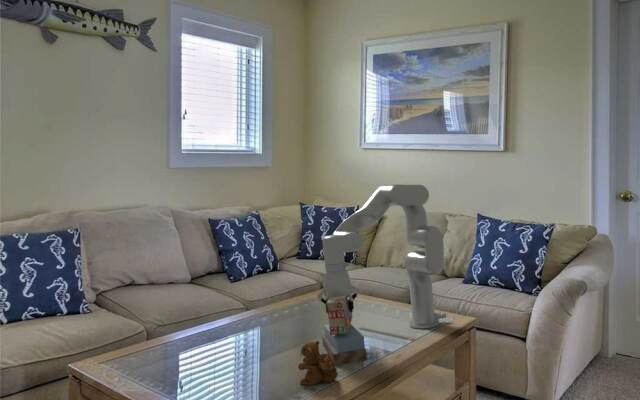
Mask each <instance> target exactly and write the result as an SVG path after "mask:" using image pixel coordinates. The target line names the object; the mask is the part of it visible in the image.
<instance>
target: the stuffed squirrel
mask: <svg viewBox="0 0 640 400" xmlns="http://www.w3.org/2000/svg"><path fill="white" fill-rule="evenodd" d="M319 344H320V341H319V340H316V341H309V342H306V343H305V344H303V346H301V351H300V354H299V357H302V356H303V359H302V362H300V363H299V364H298V366H297V368H298V370H299V371H304V370H306V373H305V375H304V378H302V379H301V380H300V381H299V384H300V385H303V386H314V385H319V384H321V383H322V382H323V383H324V384H329V383H328V382H330V383H332V382H333V381H335V380H336V379H337V377H338V375H339V372H338V371H337V368H336V365H334V364H335V363H334V362H333V360H332V359H331V357H330V356H329V354H328V353H322V354H320V351H319V350H320V349H319Z"/></svg>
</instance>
